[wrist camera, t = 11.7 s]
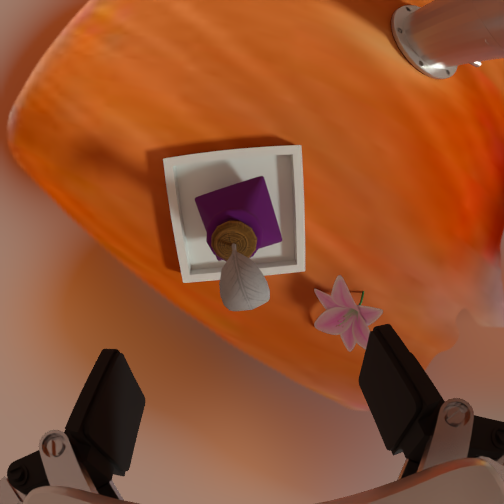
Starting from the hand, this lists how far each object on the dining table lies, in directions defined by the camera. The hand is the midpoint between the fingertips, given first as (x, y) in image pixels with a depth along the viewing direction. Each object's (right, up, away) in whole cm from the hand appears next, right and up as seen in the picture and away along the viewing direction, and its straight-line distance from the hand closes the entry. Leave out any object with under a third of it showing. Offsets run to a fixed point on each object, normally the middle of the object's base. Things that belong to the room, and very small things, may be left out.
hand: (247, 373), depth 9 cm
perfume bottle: (-1, +9, +23) cm, 24 cm away
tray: (-2, +9, +23) cm, 25 cm away
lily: (+12, -2, +29) cm, 32 cm away
